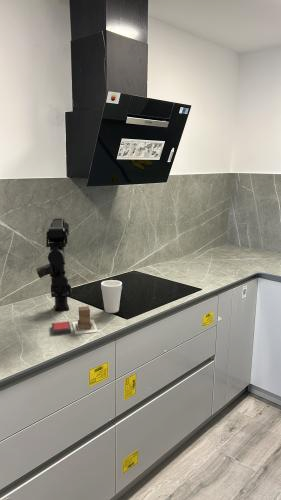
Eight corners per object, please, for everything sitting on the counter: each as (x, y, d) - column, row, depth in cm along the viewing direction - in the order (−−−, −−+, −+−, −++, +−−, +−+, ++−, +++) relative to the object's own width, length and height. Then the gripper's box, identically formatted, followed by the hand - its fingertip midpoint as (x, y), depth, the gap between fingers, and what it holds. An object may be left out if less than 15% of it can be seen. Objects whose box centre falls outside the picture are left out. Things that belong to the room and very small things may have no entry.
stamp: (77, 324, 163) (77, 306, 161) (89, 323, 164) (89, 305, 163) (79, 329, 158) (78, 311, 156) (91, 328, 160) (91, 309, 158)
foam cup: (103, 315, 174) (103, 287, 171) (99, 307, 183) (99, 281, 180) (124, 313, 177) (124, 285, 174) (119, 305, 185) (119, 279, 182)
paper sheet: (72, 322, 166) (72, 321, 166) (93, 320, 168) (93, 319, 168) (75, 334, 155) (75, 333, 154) (98, 332, 157) (98, 331, 157)
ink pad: (51, 326, 162) (51, 322, 161) (69, 324, 164) (68, 320, 163) (53, 334, 154) (52, 330, 154) (71, 332, 156) (70, 328, 156)
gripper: (36, 254, 167) (38, 289, 171) (37, 265, 150) (39, 304, 153) (63, 252, 170) (64, 287, 174) (67, 263, 153) (68, 301, 156)
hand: (58, 294), depth 164 cm, fingers open, 9 cm apart
